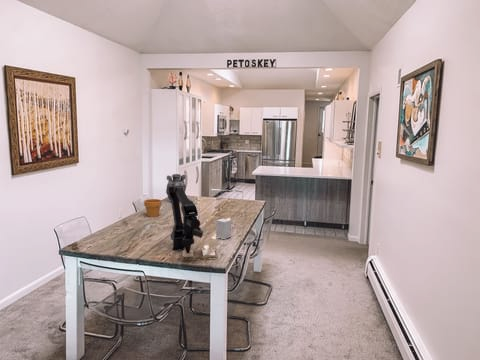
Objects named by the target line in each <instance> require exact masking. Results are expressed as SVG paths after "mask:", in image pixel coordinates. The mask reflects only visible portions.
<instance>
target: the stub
mask: <svg viewBox="0 0 480 360" xmlns="http://www.w3.org/2000/svg"><path fill="white" fill-rule="evenodd" d="M191 256H194V255H193V249H192V246H191V247H190V251H189V253H187V252H186V249H185V248H184V250H182V257H183V258H185V257H191Z"/></svg>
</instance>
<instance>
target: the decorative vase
mask: <svg viewBox="0 0 480 360" xmlns="http://www.w3.org/2000/svg"><path fill="white" fill-rule="evenodd" d="M185 180H186V175H185V174H182V175H181V174H178V173H173V174H172V175H166V181H168V182H167V185H166V189H167V188H168V187H173V186H183V190H184V192H185V193H186V190H187V189H186V188H187V187H186V183H185ZM179 202H180V200H179Z"/></svg>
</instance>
